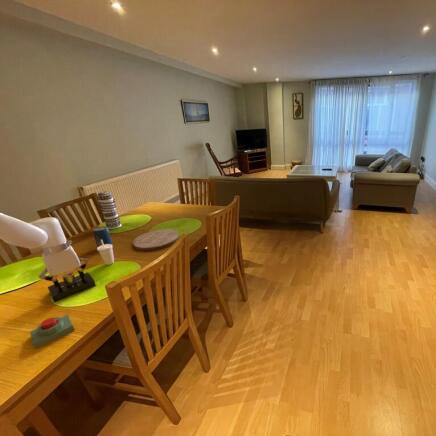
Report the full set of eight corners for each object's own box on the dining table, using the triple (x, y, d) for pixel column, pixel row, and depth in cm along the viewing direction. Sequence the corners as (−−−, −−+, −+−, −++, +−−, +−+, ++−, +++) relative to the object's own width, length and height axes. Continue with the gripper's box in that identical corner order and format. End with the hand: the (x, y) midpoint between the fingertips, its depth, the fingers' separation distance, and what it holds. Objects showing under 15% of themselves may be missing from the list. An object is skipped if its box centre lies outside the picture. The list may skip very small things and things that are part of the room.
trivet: (187, 233, 158) (187, 230, 157) (162, 252, 135) (161, 249, 134) (153, 230, 162) (153, 228, 161) (123, 248, 139) (122, 245, 138)
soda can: (113, 243, 145) (107, 225, 140) (112, 247, 140) (106, 229, 135) (98, 246, 141) (92, 227, 137) (98, 251, 136) (91, 232, 132)
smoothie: (99, 267, 121) (91, 242, 116) (106, 260, 127) (98, 236, 122) (114, 265, 123) (106, 241, 117) (119, 259, 128) (112, 235, 123)
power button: (43, 331, 80) (41, 327, 79) (42, 325, 82) (40, 322, 82) (58, 324, 83) (56, 320, 82) (56, 319, 85) (54, 315, 84)
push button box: (35, 349, 78) (30, 340, 76) (32, 336, 83) (27, 327, 81) (75, 330, 85) (71, 321, 84) (69, 319, 90) (66, 310, 88)
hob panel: (54, 302, 98) (51, 296, 96) (50, 292, 104) (47, 286, 102) (96, 285, 108) (94, 280, 106) (90, 277, 114) (88, 271, 112)
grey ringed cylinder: (123, 226, 168) (113, 192, 158) (107, 230, 161) (96, 195, 152) (120, 222, 173) (110, 189, 164) (104, 226, 167) (93, 192, 158)
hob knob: (66, 287, 102) (62, 277, 100) (65, 283, 104) (61, 274, 102) (77, 283, 105) (73, 274, 103) (75, 279, 107) (72, 270, 105)
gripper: (80, 237, 106) (93, 270, 113) (24, 252, 94) (42, 289, 100) (85, 242, 102) (98, 276, 108) (27, 259, 89) (45, 297, 96)
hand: (71, 282), depth 104 cm, fingers open, 7 cm apart
